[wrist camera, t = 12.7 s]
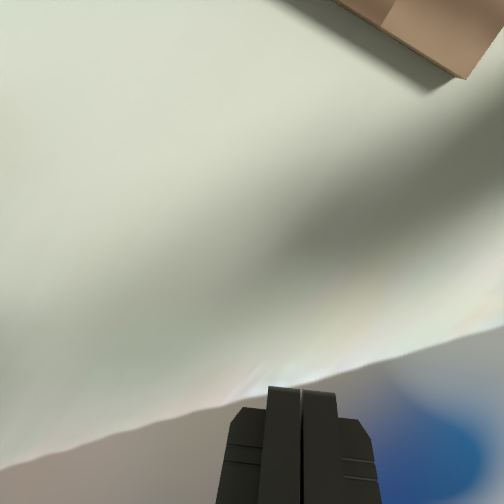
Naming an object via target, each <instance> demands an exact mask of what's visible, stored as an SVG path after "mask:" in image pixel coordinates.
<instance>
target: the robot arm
mask: <svg viewBox="0 0 504 504" xmlns="http://www.w3.org/2000/svg"><path fill="white" fill-rule="evenodd" d="M377 479H378V478H377V473H376V467H375V465H374V455H373V449H372V443H371V439H370V437H369V436H368V434H367V433H366V431H365V430H364V428H363V427H362V425H361V424H360V422H359V421H358V420H355V419H346V418H338V413H337V403H336V395H335V393H330V392H321V391H312V390H302V395H301V402H300V389H292V388H283V387H274V386H269V387H268V398H267V408H266V410H265V409H256V408H247V407H243V408H242V409H241V410H240V412H239V413H238V414H237V415H236V417H235V418H234V419H233V421H232V422H231V423H230V428H229V433H228V439H227V446H226V450H225V455H224V461H223V466H222V471H221V477H220V483H219V487H218V493H217V498H216V504H382V502H381V496H380V490H379V484H378V483H377Z"/></svg>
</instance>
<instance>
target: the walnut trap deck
mask: <svg viewBox="0 0 504 504" xmlns="http://www.w3.org/2000/svg"><path fill="white" fill-rule="evenodd" d="M332 1H334V2H336V3H337V4H339V5H340V6H342V7H344V8H345V9H347V10H348V11H350V12H352V13H353V14H355V15H356V16H358V17H360V18H361V19H363V20H364V21H366V22H368V23H369V24H371V25H372V26H374V27H376V28H377V29H379V30H380V31H382V32H384V33H385V34H387V35H388V36H390V37H392V38H393V39H395V40H397V41H398V42H400V43H401V44H403V45H405V46H406V47H408V48H409V49H411V50H413V51H414V52H416V53H417V54H419V55H421V56H422V57H424V58H425V59H427V60H429V61H430V62H432V63H433V64H435V65H437V66H438V67H440V68H441V69H443V70H445V71H446V72H448V73H450V74H451V75H453V76H454V77H456V78H460V79H465V80H466V79H467V77H468V76H469V75H470V73H471V72H472V70H473V69H474V68H475V66H476V65H477V63H478V62H479V60H480V59H481V58H482V56H483V55H484V53H485V52H486V50H487V49H488V48H489V46H490V45H491V43H492V42H493V40H494V39H495V38H496V36H497V35H498V33H499V32H500V31H501V29H502V28H503V26H504V0H332Z"/></svg>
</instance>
